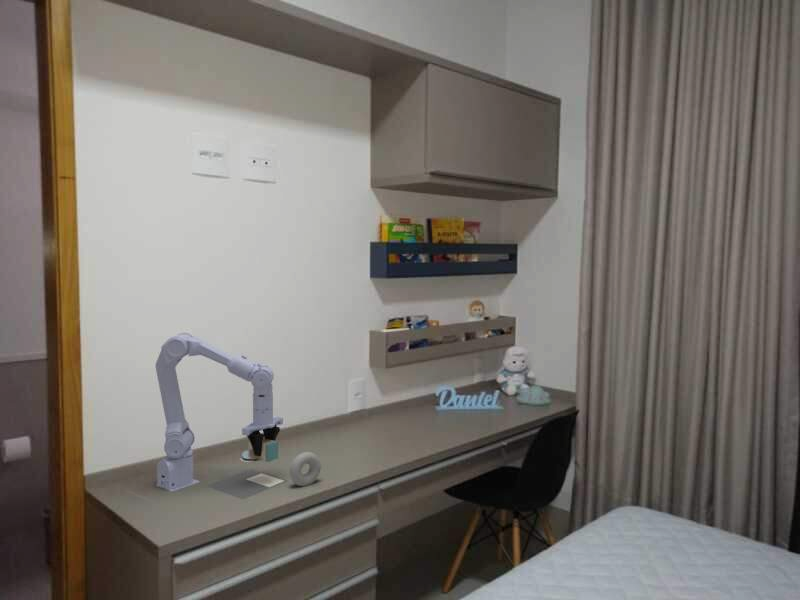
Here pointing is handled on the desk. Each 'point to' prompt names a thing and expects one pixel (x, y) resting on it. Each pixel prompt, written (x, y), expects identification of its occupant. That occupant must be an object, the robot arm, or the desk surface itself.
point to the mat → (247, 483)
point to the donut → (299, 463)
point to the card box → (266, 450)
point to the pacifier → (246, 456)
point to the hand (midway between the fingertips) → (263, 453)
